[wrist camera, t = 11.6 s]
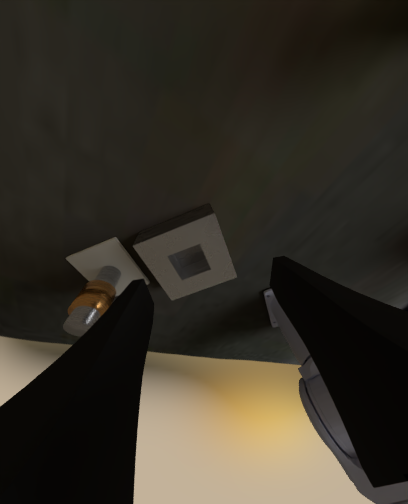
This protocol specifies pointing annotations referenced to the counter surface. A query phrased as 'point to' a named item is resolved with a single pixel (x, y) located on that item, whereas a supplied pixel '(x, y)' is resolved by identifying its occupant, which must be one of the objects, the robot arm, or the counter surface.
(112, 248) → the mat
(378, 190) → the counter surface
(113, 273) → the amber medicine bottle
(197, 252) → the block
